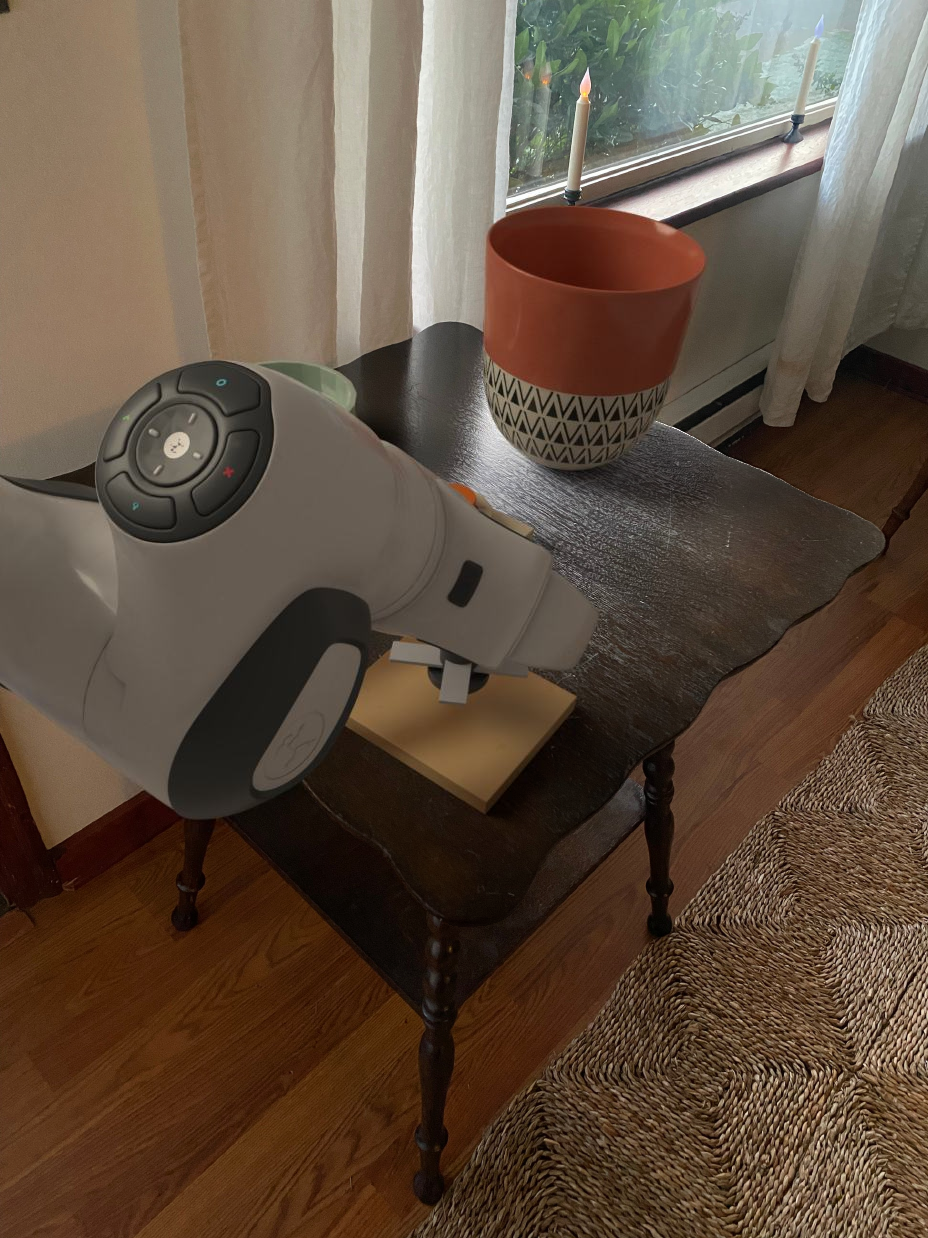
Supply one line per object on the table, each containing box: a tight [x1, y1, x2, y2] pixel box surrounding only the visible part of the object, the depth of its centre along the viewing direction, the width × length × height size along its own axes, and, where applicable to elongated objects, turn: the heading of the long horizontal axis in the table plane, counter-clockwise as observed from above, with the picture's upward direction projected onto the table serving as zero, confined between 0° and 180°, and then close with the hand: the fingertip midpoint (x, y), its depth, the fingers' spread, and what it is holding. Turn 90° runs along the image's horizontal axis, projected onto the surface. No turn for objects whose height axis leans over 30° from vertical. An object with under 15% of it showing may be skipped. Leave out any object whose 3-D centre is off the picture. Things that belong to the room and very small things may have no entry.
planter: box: [482, 205, 708, 471], centre depth 86 cm, size 20×20×21 cm
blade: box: [389, 640, 529, 706], centre depth 59 cm, size 10×10×12 cm
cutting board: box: [344, 636, 578, 815], centre depth 66 cm, size 14×12×2 cm
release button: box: [447, 482, 476, 507], centre depth 78 cm, size 4×4×2 cm
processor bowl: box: [252, 359, 358, 418], centre depth 89 cm, size 14×14×6 cm
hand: (471, 584), depth 58 cm, fingers closed on blade, 3 cm apart
